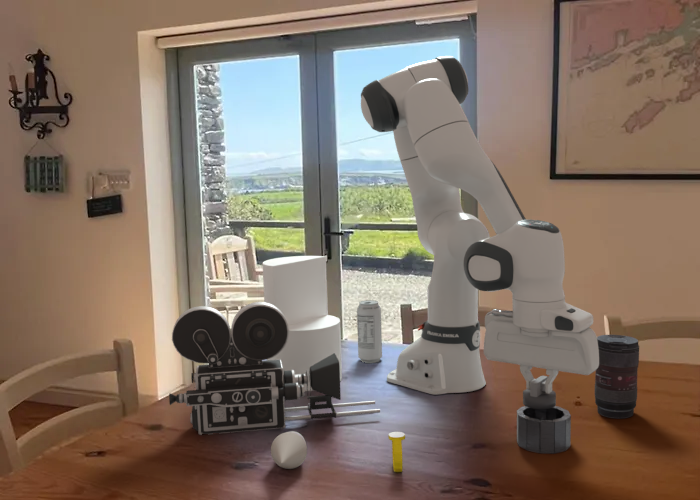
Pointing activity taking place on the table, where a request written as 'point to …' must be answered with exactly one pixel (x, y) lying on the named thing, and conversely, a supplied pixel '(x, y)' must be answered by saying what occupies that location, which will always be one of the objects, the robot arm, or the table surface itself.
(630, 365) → the camera lens
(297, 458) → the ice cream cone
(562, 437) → the faceted grey ring
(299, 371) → the cylinder
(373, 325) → the energy drink can
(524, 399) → the grey dial knob
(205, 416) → the film camera
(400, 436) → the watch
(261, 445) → the table surface
